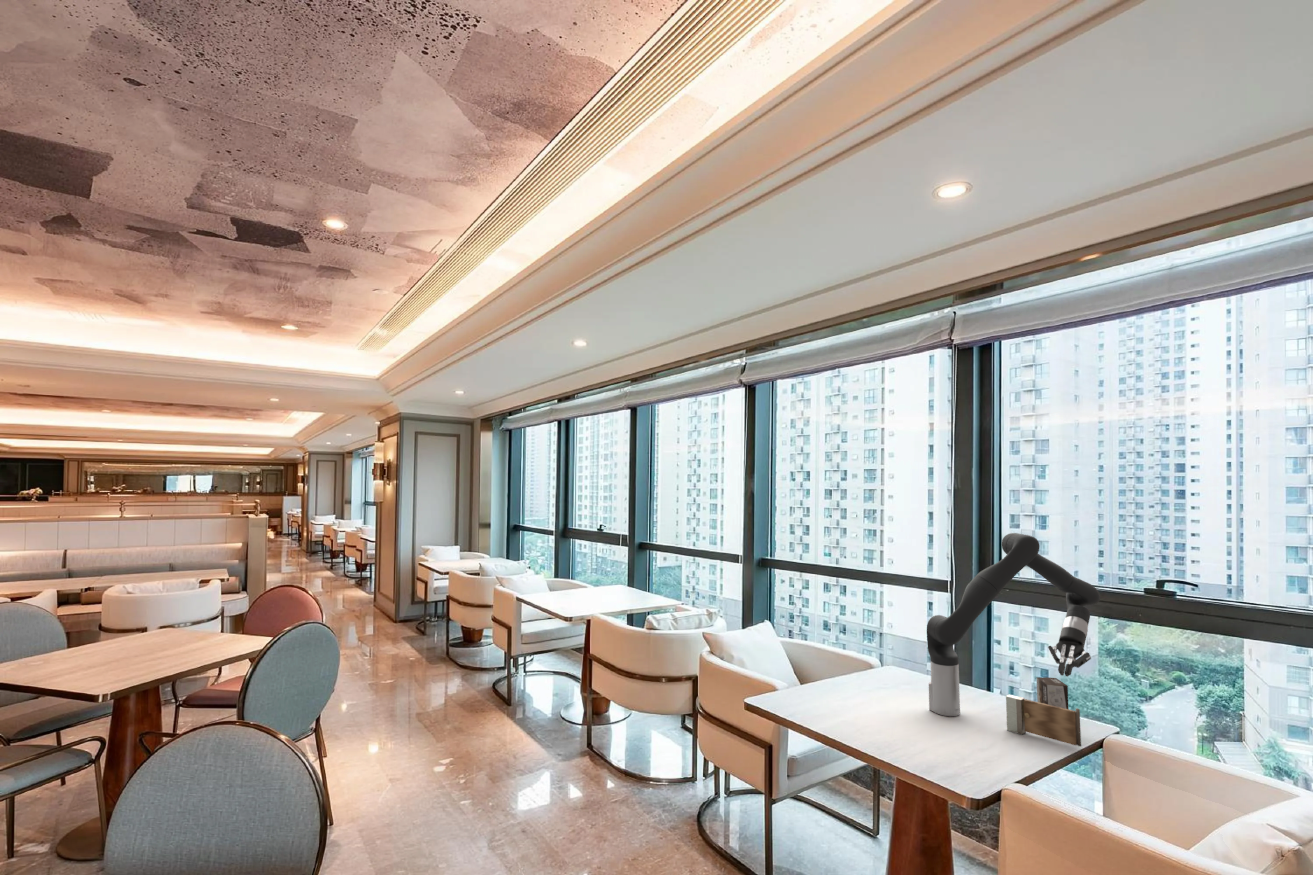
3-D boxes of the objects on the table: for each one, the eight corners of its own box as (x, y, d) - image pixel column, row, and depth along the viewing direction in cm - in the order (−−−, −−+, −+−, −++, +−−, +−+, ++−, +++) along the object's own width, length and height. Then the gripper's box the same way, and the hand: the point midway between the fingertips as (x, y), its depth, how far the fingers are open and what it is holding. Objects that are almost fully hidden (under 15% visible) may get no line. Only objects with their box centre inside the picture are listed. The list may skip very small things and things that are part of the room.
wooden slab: (1023, 732, 204) (1022, 697, 205) (1026, 730, 206) (1025, 695, 206) (1079, 747, 192) (1077, 710, 193) (1081, 745, 194) (1080, 708, 195)
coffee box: (1070, 737, 203) (1068, 685, 204) (1048, 735, 204) (1046, 684, 205) (1058, 726, 212) (1056, 677, 213) (1037, 724, 213) (1035, 676, 214)
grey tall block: (1006, 730, 208) (1005, 696, 209) (1010, 728, 210) (1009, 694, 211) (1022, 734, 205) (1021, 699, 205) (1025, 732, 207) (1024, 697, 207)
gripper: (1049, 622, 229) (1038, 663, 220) (1093, 629, 219) (1083, 672, 210) (1055, 635, 232) (1044, 676, 223) (1098, 642, 222) (1089, 685, 213)
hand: (1063, 674), depth 217 cm, fingers closed
